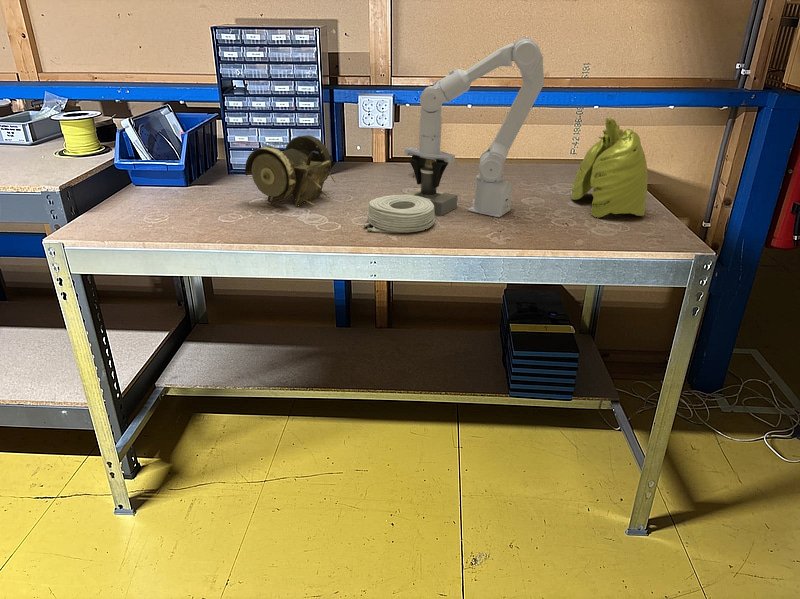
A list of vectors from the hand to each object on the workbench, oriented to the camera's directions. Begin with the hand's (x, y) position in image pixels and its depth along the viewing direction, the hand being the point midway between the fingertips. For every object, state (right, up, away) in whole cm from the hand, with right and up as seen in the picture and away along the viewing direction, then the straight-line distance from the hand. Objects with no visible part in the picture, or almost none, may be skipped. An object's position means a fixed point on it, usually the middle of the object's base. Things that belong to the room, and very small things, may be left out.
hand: (427, 185), depth 160 cm
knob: (0, -2, +2) cm, 2 cm away
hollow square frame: (+1, -6, +2) cm, 6 cm away
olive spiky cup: (0, +9, +31) cm, 33 cm away
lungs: (+51, -5, +6) cm, 51 cm away
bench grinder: (-36, -3, +6) cm, 37 cm away
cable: (-7, -12, -9) cm, 17 cm away
